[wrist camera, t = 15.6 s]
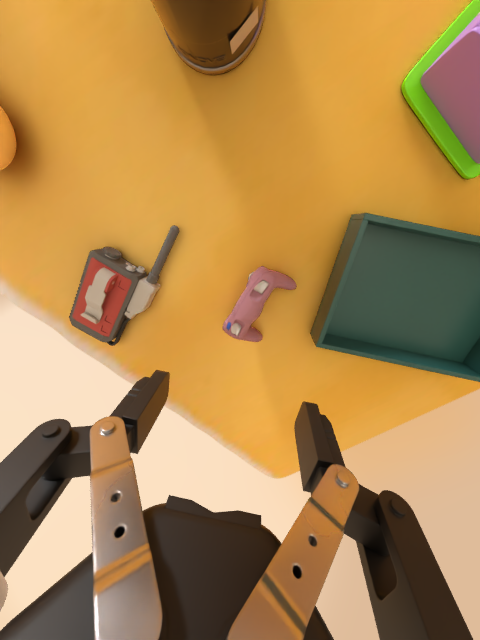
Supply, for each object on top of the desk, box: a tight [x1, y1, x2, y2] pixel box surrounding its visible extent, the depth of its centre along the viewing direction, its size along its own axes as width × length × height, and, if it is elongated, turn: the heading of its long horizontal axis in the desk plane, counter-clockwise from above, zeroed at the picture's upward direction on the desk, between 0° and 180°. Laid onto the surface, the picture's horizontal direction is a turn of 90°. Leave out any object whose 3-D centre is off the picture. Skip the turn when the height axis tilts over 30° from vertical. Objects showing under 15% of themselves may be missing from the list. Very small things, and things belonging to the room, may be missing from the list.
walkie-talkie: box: [69, 225, 179, 346], centre depth 29 cm, size 9×4×20 cm
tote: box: [310, 213, 480, 382], centre depth 27 cm, size 15×21×4 cm
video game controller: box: [223, 266, 297, 342], centre depth 28 cm, size 10×5×7 cm, turn 152°
